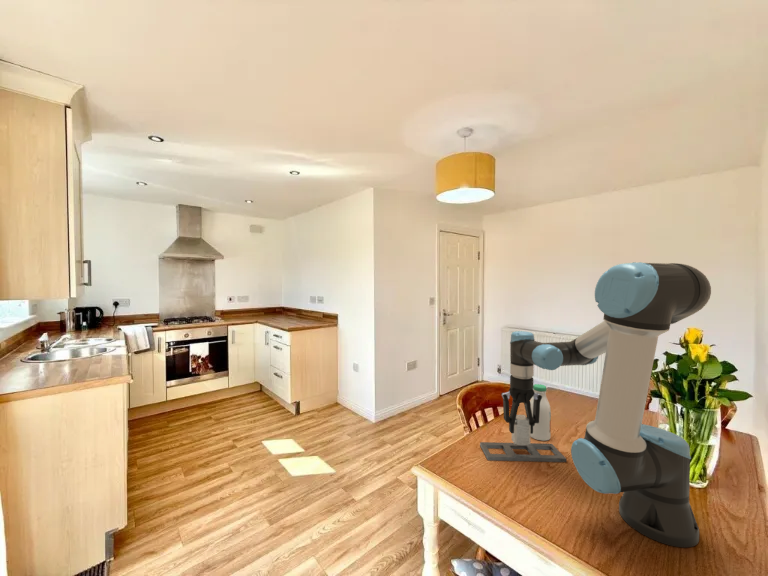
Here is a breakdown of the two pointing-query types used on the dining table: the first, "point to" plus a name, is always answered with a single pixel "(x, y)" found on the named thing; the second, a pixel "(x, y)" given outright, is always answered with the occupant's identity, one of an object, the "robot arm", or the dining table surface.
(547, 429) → the milk bottle
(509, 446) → the grey slotted plate
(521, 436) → the block
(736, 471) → the dining table surface
